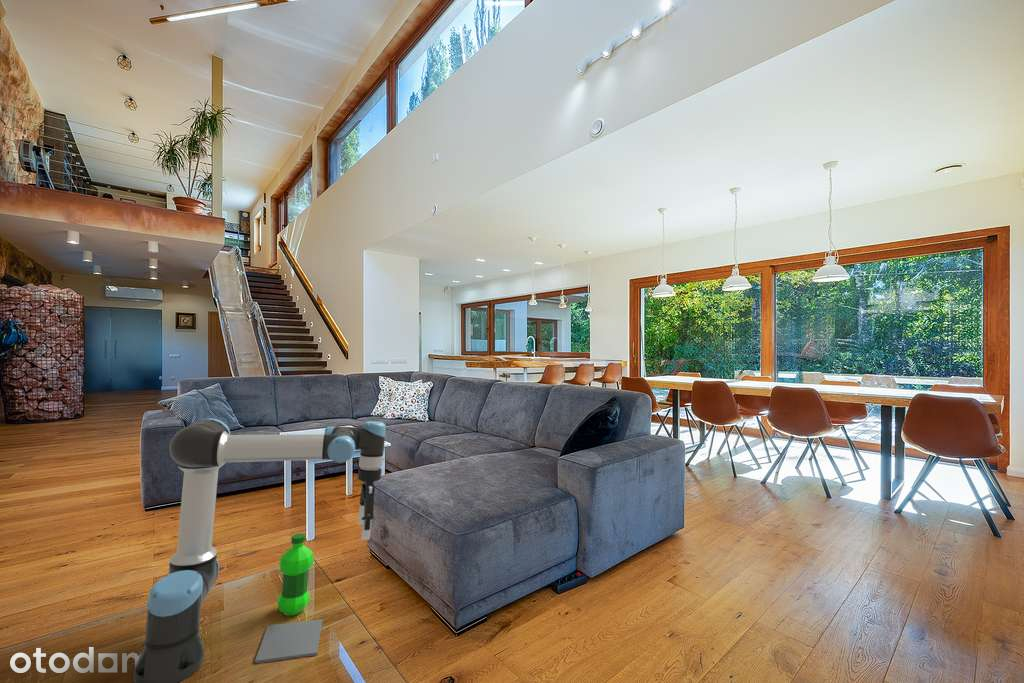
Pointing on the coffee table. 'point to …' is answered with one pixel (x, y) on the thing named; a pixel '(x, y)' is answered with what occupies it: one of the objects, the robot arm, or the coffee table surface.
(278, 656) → the rubber coaster
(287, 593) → the plastic bottle
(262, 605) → the coffee table surface
